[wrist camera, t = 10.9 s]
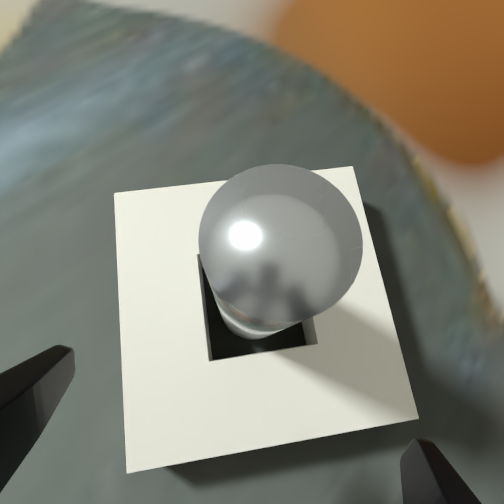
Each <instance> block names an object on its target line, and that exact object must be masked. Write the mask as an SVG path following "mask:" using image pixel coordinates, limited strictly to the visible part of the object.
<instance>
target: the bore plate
mask: <svg viewBox="0 0 504 504" xmlns="http://www.w3.org/2000/svg"><path fill="white" fill-rule="evenodd" d="M312 172H314V173H316V174H318V175H320V176H322V177H323V178H325V179H326V180H328V181H329V182H331V183H332V184H333V185H334V186H335V187H336V188H338V189H339V190H340V192H341V193H342V194H343V195H344V196H345V197H346V199H347V200H348V201H349V203H350V204H351V206H352V208H353V209H354V211H355V213H356V216H357V218H358V221H359V223H360V227H361V231H362V239H363V254H362V261H361V265H360V268H359V272H358V274H357V276H356V278H355V281H354V283H353V284H352V286H351V287H350V289H349V290H348V292H347V293H346V294H345V295H344V296H343V297H342V298H341V299H340V300H339V301H338V302H337V303H336V304H334V305H333V306H332V307H330V308H329V309H327V310H326V311H324V312H322V313H320V314H318V315H315V316H313V317H311V318H309V319H306V320H304V321H302V326H303V331H304V336H305V341H306V345H303V346H297V347H291V348H285V349H279V350H272V351H266V352H260V353H254V354H248V355H241V356H235V357H229V358H223V359H216V360H212V351H211V342H210V334H209V325H208V316H207V308H206V299H205V290H204V282H203V273H202V267H203V265H202V261H201V258H200V254H199V245H198V235H199V227H200V222H201V218H202V215H203V212H204V210H205V208H206V206H207V204H208V202H209V201H210V199H211V198H212V196H213V195H214V194H215V192H216V191H217V190H218V189H219V188H220V187H221V186H222V185H223V184H224V183H226V182H227V181H228V180H226V181H218V182H209V183H200V184H191V185H182V186H173V187H164V188H156V189H147V190H138V191H129V192H120V193H114V201H115V223H116V245H117V268H118V290H119V312H120V334H121V356H122V379H123V401H124V423H125V445H126V468H127V473H132V472H137V471H142V470H148V469H153V468H158V467H164V466H169V465H174V464H180V463H185V462H190V461H196V460H201V459H206V458H212V457H217V456H222V455H228V454H233V453H238V452H244V451H249V450H254V449H260V448H265V447H270V446H276V445H281V444H286V443H292V442H297V441H302V440H308V439H313V438H318V437H324V436H329V435H334V434H340V433H345V432H350V431H356V430H361V429H366V428H372V427H377V426H382V425H388V424H393V423H398V422H404V421H409V420H414V419H419V416H418V413H417V409H416V405H415V401H414V398H413V394H412V390H411V386H410V382H409V379H408V375H407V371H406V367H405V363H404V360H403V356H402V352H401V348H400V344H399V341H398V337H397V333H396V329H395V326H394V322H393V318H392V314H391V310H390V307H389V303H388V299H387V295H386V291H385V288H384V284H383V280H382V276H381V272H380V269H379V265H378V261H377V257H376V254H375V250H374V246H373V242H372V238H371V235H370V231H369V227H368V223H367V219H366V216H365V212H364V208H363V204H362V200H361V197H360V193H359V189H358V185H357V182H356V178H355V174H354V170H353V166H350V167H342V168H333V169H324V170H315V171H312Z"/></svg>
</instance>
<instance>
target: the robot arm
mask: <svg viewBox="0 0 504 504" xmlns="http://www.w3.org/2000/svg"><path fill="white" fill-rule="evenodd" d="M74 374H75V353H74V350H73V348H71V347H67V346H63V345H55V346H53V347H51V348H49V349H47V350H45V351H43V352H41V353H39V354H37V355H36V356H34V357H32V358H30V359H28V360H26V361H24V362H22V363H20V364H18V365H16V366H14V367H12V368H10V369H8V370H6V371H4V372H2V373H0V492H1V491H2V490H3V488H4V487H5V485H6V484H7V482H8V481H9V480H10V478H11V477H12V475H13V474H14V473H15V471H16V470H17V468H18V467H19V465H20V464H21V463H22V461H23V460H24V458H25V457H26V456H27V454H28V453H29V451H30V450H31V448H32V447H33V446H34V444H35V443H36V441H37V440H38V438H39V437H40V435H41V433H42V432H43V430H44V428H45V427H46V425H47V423H48V421H49V420H50V418H51V416H52V414H53V413H54V411H55V409H56V407H57V406H58V404H59V402H60V400H61V399H62V397H63V395H64V393H65V392H66V390H67V388H68V386H69V385H70V383H71V381H72V379H73V377H74ZM400 471H401V482H402V493H403V504H482V503H481V502H480V501H479V500H478V498H477V497H476V496H475V495H474V493H473V492H472V491H471V490H470V488H469V487H468V486H467V484H466V483H465V482H464V481H463V479H462V478H461V477H460V476H459V474H458V473H457V472H456V471H455V469H454V468H453V467H452V465H451V464H450V463H449V462H448V460H447V459H446V458H445V457H444V455H443V454H442V453H441V451H440V450H439V449H438V448H437V446H436V445H435V444H434V443H433V442H431V441H429V440H425V439H421V438H414V439H413V440H412V441H411V443H410V444H409V445H408V447H407V448H406V450H405V451H404V452H403V454H402V456H401V459H400Z"/></svg>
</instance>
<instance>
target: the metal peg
mask: <svg viewBox="0 0 504 504" xmlns="http://www.w3.org/2000/svg"><path fill="white" fill-rule="evenodd" d="M198 245H199V254H200V258H201V261H202V265H203V268H204V270H205V273H206V276H207V278H208V281H209V284H210V287H211V289H212V292H213V295H214V297H215V300H216V303H217V306H218V308H219V311H220V314H221V316H222V319H223V321H224V323H225V325H226V326H227V328H228V329H229V330H230V331H231V332H232V333H234V334H235V335H237V336H239V337H241V338H244V339H249V340H257V339H262V338H265V337H267V336H270V335H272V334H274V333H276V332H279V331H281V330H283V329H286V328H288V327H290V326H293V325H295V324H297V323H299V322H302V321H304V320H306V319H309V318H311V317H313V316H315V315H318V314H320V313H322V312H324V311H326V310H327V309H329V308H330V307H332V306H333V305H334V304H336V303H337V302H338V301H339V300H340V299H341V298H342V297H343V296H344V295H345V294H346V293H347V292H348V290H349V289H350V287H351V286H352V284H353V283H354V281H355V278H356V276H357V274H358V272H359V268H360V265H361V261H362V254H363V239H362V231H361V227H360V223H359V221H358V218H357V216H356V213H355V211H354V209H353V208H352V206H351V204H350V203H349V201H348V200H347V199H346V197H345V196H344V195H343V194H342V193H341V192H340V190H339V189H338V188H336V187H335V186H334V185H333V184H332V183H331V182H329V181H328V180H326V179H325V178H323V177H322V176H320V175H318V174H316V173H314V172H312V171H309V170H306V169H304V168H300V167H296V166H291V165H281V164H272V165H263V166H259V167H254V168H251V169H248V170H246V171H243V172H241V173H239V174H237V175H235V176H234V177H232V178H231V179H229V180H228V181H227V182H226V183H224V184H223V185H222V186H221V187H220V188H219V189H218V190H217V191H216V192H215V194H214V195H213V196H212V198H211V199H210V201H209V202H208V204H207V206H206V208H205V210H204V212H203V215H202V218H201V222H200V227H199V235H198Z"/></svg>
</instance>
